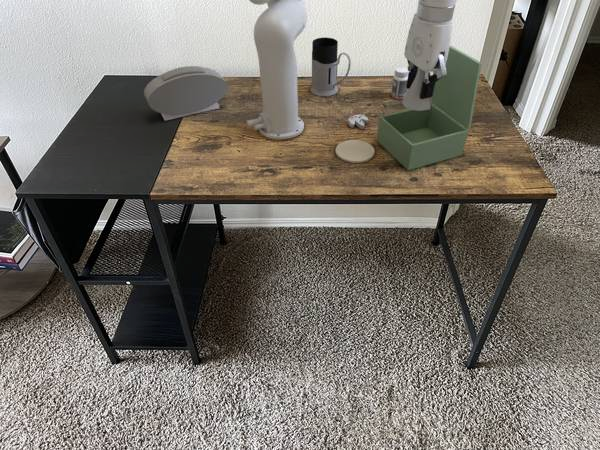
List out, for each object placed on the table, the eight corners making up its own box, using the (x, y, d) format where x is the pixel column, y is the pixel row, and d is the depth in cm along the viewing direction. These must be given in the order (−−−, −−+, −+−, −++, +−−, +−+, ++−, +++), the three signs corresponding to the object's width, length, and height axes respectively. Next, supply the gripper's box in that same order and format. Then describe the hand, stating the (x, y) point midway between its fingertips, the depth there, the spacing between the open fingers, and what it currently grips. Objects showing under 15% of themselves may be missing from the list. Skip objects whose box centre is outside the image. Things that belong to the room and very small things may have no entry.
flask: (434, 112, 107) (443, 71, 100) (403, 111, 107) (411, 70, 100) (428, 97, 112) (437, 58, 105) (399, 97, 112) (406, 57, 105)
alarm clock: (224, 98, 141) (218, 57, 132) (230, 106, 137) (225, 65, 128) (149, 114, 134) (138, 73, 125) (153, 124, 129) (142, 82, 121)
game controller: (359, 132, 124) (360, 123, 123) (326, 119, 130) (326, 110, 128) (371, 124, 127) (372, 115, 126) (338, 111, 133) (339, 103, 131)
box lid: (479, 63, 98) (481, 62, 98) (437, 40, 109) (439, 39, 109) (467, 129, 110) (470, 128, 110) (431, 102, 120) (433, 102, 121)
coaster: (346, 166, 112) (346, 164, 112) (329, 146, 119) (329, 144, 119) (381, 157, 115) (381, 155, 115) (362, 138, 122) (362, 136, 122)
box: (407, 170, 111) (412, 145, 106) (376, 140, 121) (379, 116, 116) (462, 155, 115) (468, 130, 110) (427, 127, 126) (432, 103, 121)
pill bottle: (408, 94, 141) (412, 67, 135) (404, 100, 137) (408, 74, 132) (393, 91, 142) (396, 65, 136) (389, 97, 139) (392, 71, 133)
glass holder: (323, 81, 148) (323, 34, 138) (357, 94, 141) (360, 46, 131) (304, 90, 144) (304, 42, 134) (338, 104, 136) (340, 55, 126)
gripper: (397, 1, 100) (386, 80, 112) (444, 27, 88) (426, 112, 101) (426, -3, 102) (412, 75, 114) (475, 22, 90) (454, 105, 103)
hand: (419, 91), depth 107 cm, fingers closed on flask, 4 cm apart
